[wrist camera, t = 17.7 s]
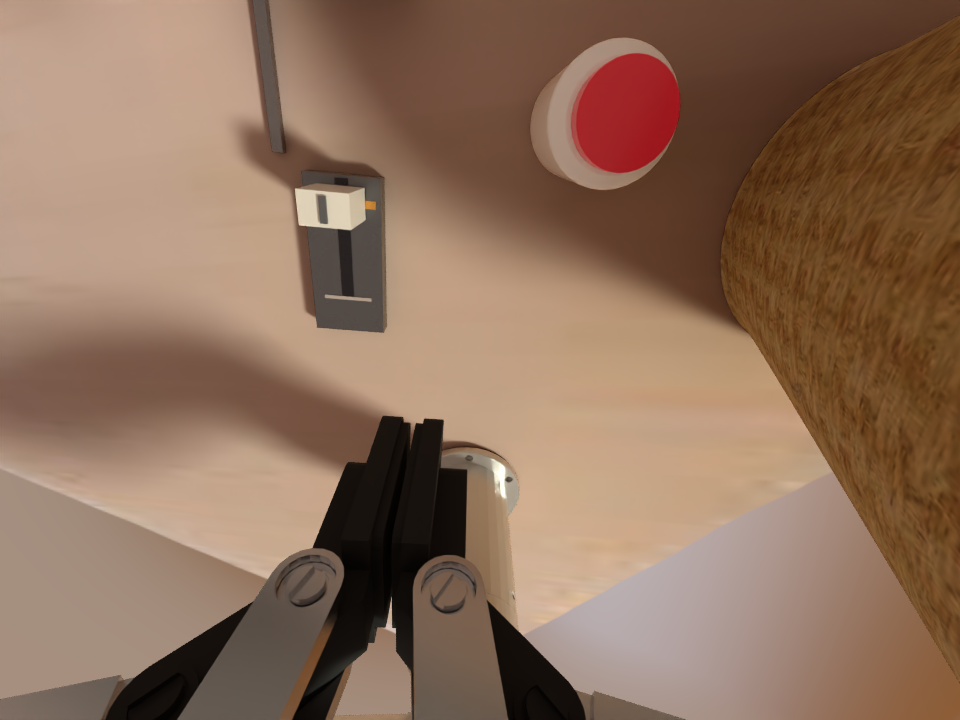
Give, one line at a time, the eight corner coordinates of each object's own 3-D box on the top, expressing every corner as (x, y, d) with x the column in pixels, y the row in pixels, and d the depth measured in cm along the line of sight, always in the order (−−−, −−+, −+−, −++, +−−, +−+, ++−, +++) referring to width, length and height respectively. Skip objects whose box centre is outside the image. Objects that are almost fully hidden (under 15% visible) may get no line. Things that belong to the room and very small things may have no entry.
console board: (386, 326, 39) (383, 333, 37) (322, 321, 39) (316, 328, 37) (384, 177, 33) (380, 178, 31) (308, 169, 33) (300, 171, 31)
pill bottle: (518, 167, 33) (537, 176, 23) (547, 50, 29) (583, 2, 19) (609, 190, 34) (664, 209, 24) (647, 80, 30) (730, 48, 20)
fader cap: (365, 219, 33) (350, 230, 29) (319, 215, 33) (297, 225, 28) (364, 187, 32) (348, 193, 28) (317, 183, 31) (293, 188, 27)
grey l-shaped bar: (289, 152, 32) (241, 154, 25) (271, 151, 32) (218, 152, 25) (267, -47, 27) (198, -110, 20) (245, -49, 27) (168, -114, 20)
